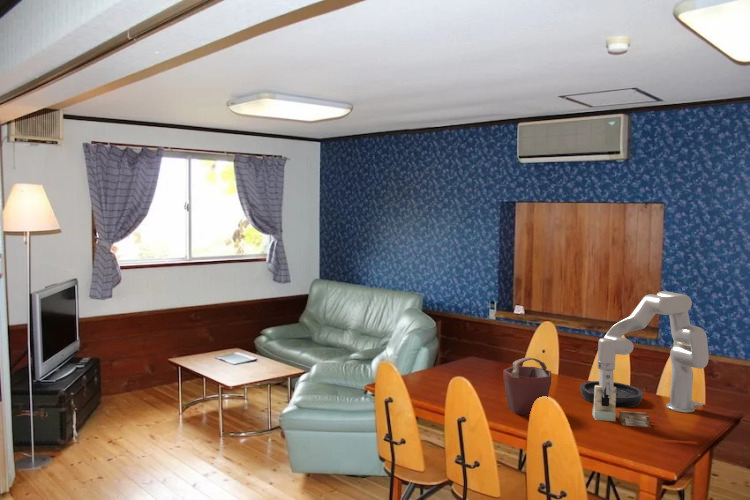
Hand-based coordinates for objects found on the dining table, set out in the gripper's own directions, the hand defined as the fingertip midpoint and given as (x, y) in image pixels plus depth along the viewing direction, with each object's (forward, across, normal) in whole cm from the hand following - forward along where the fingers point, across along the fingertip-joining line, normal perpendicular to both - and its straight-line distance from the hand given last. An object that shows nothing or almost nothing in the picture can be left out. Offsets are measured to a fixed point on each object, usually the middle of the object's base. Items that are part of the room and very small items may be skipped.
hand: (604, 404), depth 288 cm
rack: (+7, -4, -12) cm, 15 cm away
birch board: (+6, 0, 0) cm, 6 cm away
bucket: (+7, +6, +35) cm, 36 cm away
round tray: (+8, +34, -9) cm, 36 cm away
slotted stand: (+7, 0, 0) cm, 7 cm away
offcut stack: (+6, -7, -12) cm, 16 cm away
